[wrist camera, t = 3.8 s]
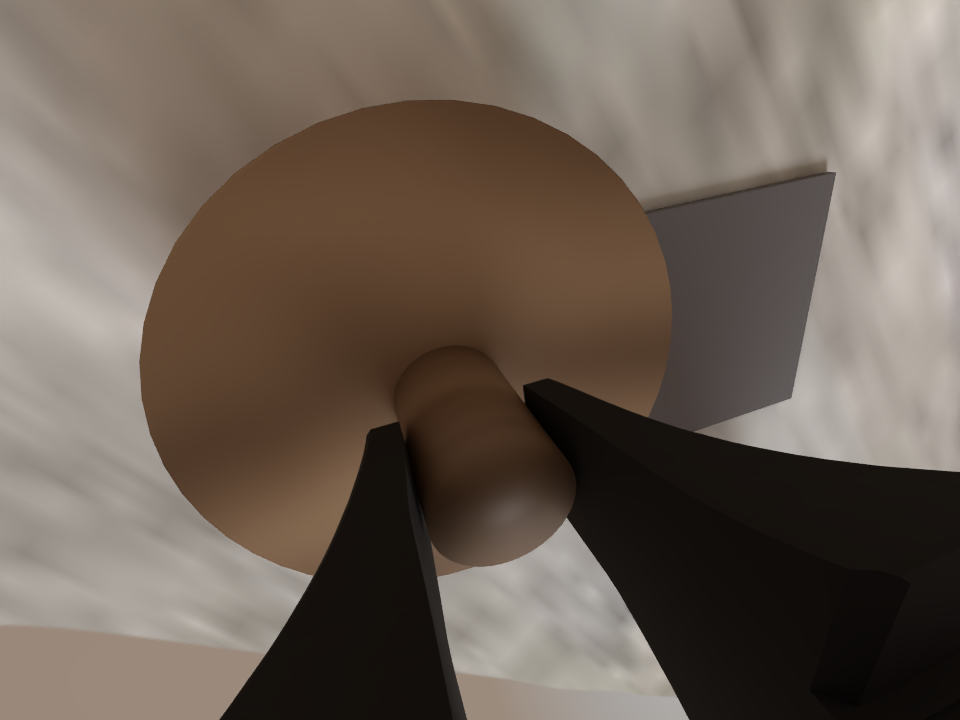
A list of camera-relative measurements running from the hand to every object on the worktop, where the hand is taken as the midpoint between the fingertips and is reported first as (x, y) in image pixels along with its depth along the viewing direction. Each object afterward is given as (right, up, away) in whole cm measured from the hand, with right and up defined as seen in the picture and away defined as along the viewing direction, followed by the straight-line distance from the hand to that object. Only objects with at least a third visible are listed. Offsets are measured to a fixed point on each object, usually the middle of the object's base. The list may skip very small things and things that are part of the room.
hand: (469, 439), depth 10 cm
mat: (+11, +4, +12) cm, 17 cm away
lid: (-1, +1, +2) cm, 3 cm away
